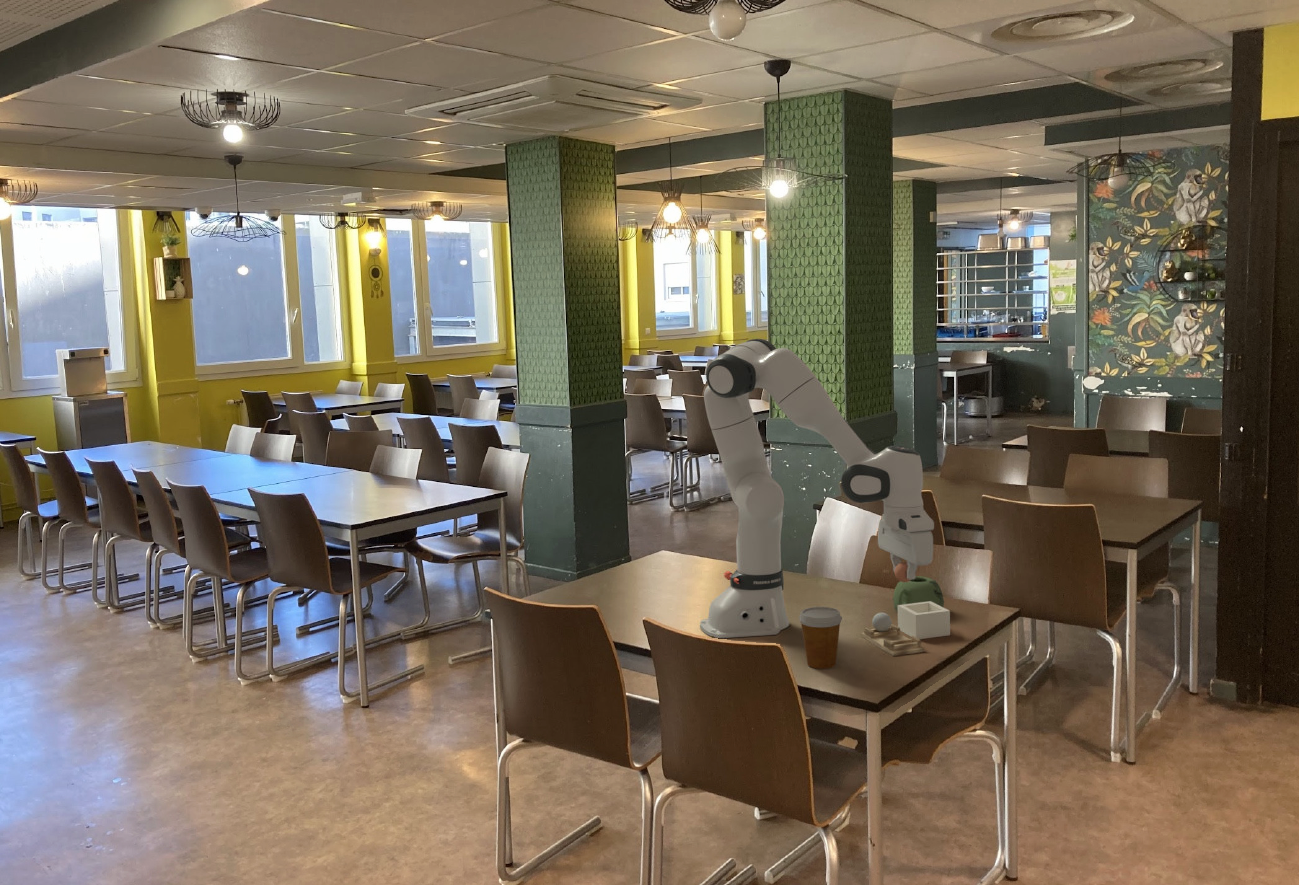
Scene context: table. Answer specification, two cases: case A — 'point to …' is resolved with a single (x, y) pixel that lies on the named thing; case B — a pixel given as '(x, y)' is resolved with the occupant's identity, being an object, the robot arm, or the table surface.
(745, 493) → the robot arm
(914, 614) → the white open box
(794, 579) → the table surface
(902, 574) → the red ball
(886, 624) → the grey ball
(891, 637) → the rack
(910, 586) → the green rounded piece
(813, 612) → the disposable coffee cup
